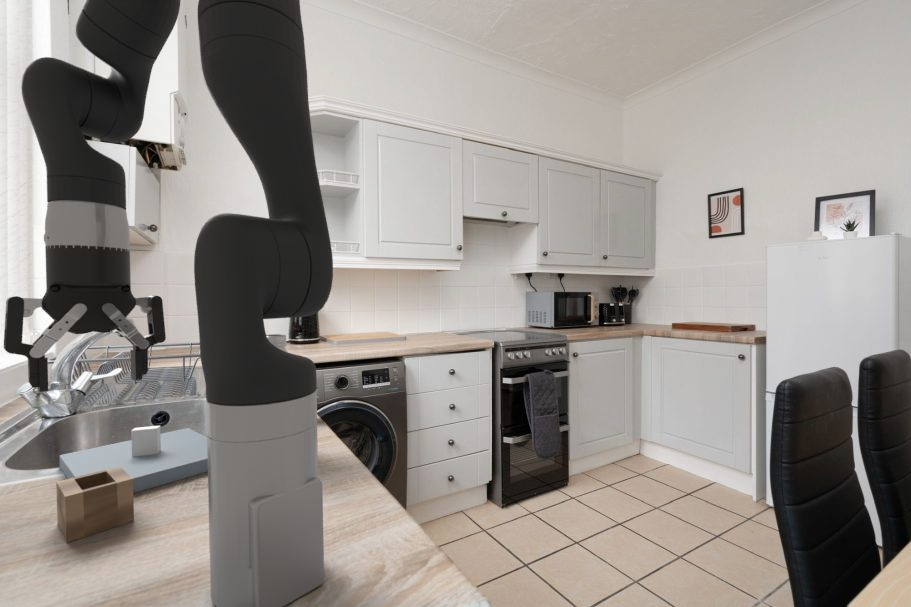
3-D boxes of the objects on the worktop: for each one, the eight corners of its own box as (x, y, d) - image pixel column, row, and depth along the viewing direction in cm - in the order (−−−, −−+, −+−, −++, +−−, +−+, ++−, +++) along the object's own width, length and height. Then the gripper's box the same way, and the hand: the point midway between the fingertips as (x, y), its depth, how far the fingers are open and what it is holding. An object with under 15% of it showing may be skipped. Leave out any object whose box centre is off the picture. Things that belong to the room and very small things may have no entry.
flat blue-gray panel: (233, 464, 69) (232, 426, 69) (85, 506, 55) (84, 459, 55) (188, 438, 82) (187, 406, 82) (59, 468, 68) (58, 429, 68)
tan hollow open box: (133, 520, 52) (132, 478, 51) (66, 542, 47) (65, 496, 47) (121, 505, 55) (119, 466, 55) (57, 524, 51) (56, 481, 51)
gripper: (3, 237, 43) (8, 401, 43) (170, 248, 54) (173, 379, 54) (-2, 243, 48) (3, 390, 48) (152, 252, 59) (154, 372, 59)
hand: (92, 384), depth 51 cm, fingers open, 8 cm apart
